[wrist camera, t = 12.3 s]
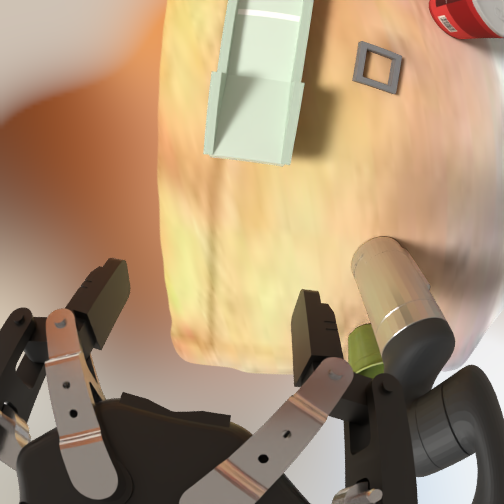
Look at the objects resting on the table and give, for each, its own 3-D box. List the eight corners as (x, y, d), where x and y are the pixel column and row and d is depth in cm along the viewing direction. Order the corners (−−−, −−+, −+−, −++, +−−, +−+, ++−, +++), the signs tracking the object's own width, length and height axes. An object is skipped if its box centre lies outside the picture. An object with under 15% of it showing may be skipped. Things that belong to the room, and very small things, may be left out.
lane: (317, -52, 16) (326, -72, 11) (285, 156, 34) (289, 170, 28) (245, -61, 16) (241, -83, 11) (213, 147, 33) (202, 159, 28)
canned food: (470, 46, 20) (519, 47, 11) (429, 29, 21) (478, 21, 12) (465, 5, 16) (510, -2, 7) (423, -14, 17) (466, -31, 8)
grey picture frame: (398, 56, 24) (402, 56, 23) (391, 93, 27) (395, 94, 26) (358, 42, 24) (361, 40, 23) (352, 80, 27) (355, 80, 26)
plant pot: (375, 305, 47) (392, 353, 38) (398, 332, 51) (413, 374, 42) (325, 336, 52) (332, 384, 43) (353, 358, 56) (362, 400, 47)
